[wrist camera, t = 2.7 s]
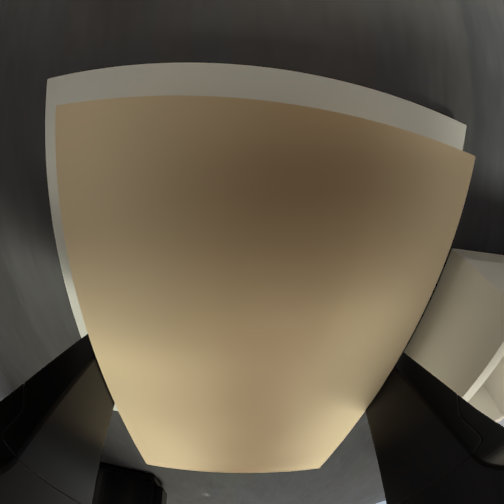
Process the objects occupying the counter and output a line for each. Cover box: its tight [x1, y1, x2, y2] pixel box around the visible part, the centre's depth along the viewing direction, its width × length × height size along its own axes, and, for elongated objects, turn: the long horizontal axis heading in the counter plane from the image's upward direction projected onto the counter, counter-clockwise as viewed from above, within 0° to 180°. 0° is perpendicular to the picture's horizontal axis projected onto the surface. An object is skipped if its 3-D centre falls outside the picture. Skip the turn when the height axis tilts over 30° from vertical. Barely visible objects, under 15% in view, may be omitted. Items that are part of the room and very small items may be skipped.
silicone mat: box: [45, 63, 467, 411], centre depth 9 cm, size 12×14×1 cm
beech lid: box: [55, 95, 476, 473], centre depth 8 cm, size 7×12×3 cm, turn 174°
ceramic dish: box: [404, 248, 504, 423], centre depth 10 cm, size 9×9×4 cm
